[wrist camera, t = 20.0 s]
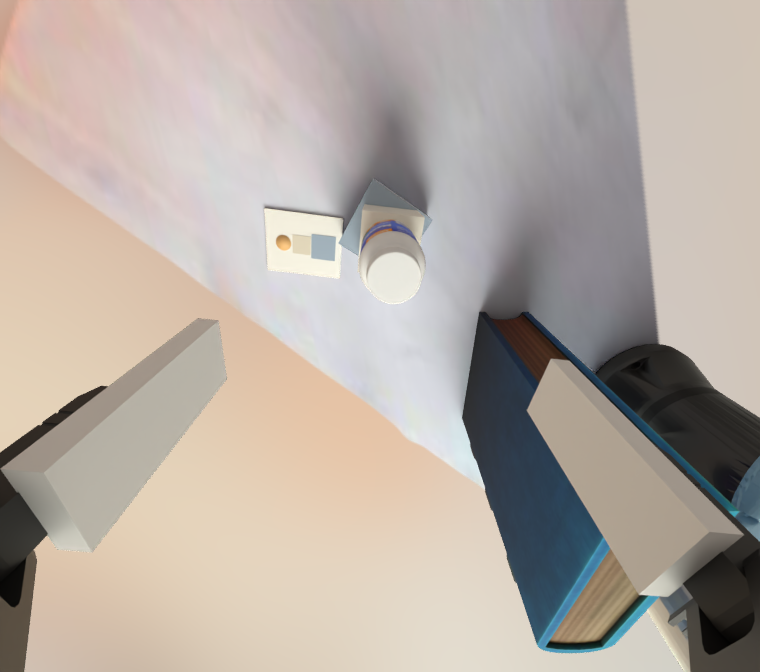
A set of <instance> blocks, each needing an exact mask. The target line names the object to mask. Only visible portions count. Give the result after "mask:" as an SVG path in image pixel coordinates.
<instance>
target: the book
mask: <svg viewBox="0 0 760 672" xmlns="http://www.w3.org/2000/svg"><path fill="white" fill-rule="evenodd" d="M551 359H559V360H568V361H570V362H571V363H572V364H573V365H574V366H575V367H576V368H577V369H578V370H579V371H580V372H581V373H582V374H583V375H584V376H585V377H586V378H587V379H588V380H589V381H590V382H591V383H592V384H593V385H594V386H595V387H596V388H597V389H598V390H599V391H600V392H601V393H602V394H603V395H604V396H605V397H606V398H607V399H608V400H609V401H610V402H611V403H612V404H613V405H614V406H615V407H616V408H617V409H618V410H619V411H620V412H621V413H622V414H623V415H624V416H625V417H626V418H627V419H628V420H629V421H630V422H631V423H632V424H633V425H634V426H635V427H636V428H637V429H638V430H639V431H640V432H641V433H642V434H643V435H644V436H645V437H646V438H647V439H648V440H649V441H651V442H653V443H654V444H656V445H657V446H658V447H660V448H661V449H663V450H664V451H666V452H667V453H668V454H670V455H671V456H672V457H673V458H674V459H675V460H676V461H677V462H678V463H679V464H680V465H681V466H682V467H683V468H684V469H686V470H687V474H691V475H692V476H693V477H694V478H695V479H696V480H697V481H698V482H699V483H700V484H701V487H702V488H705V489H706V490H707V491H708V492H709V493H710V494H711V495H712V496H713V497H714V498H715V499H716V500H717V501H718V502H719V503H720V504H721V505H722V506H724V507H725V508H726V509H727V510H728V511H729V512H730V513H731V514H732V515H733V516H734V517H735V516H736V515H737V514H738V513H739V512H740V511H739V510H738V509H737V508H736V507H735V506H734V505H732V504H731V503H730V502H729V501H728V500H727V499H726V498H725V497H724V496H723V495H722V494H721V493H720V492H719V491H718V490H717V489H715V488H714V487H713V486H712V485H711V484H710V483H709V482H708V481H707V480H706V479H705V478H704V477H703V476H702V475H701V474H700V473H699V472H697V471H696V470H695V469H694V468H693V467H692V466H691V465H690V464H689V463H688V462H687V461H686V460H685V459H684V458H683V457H682V456H681V455H679V454H678V453H677V452H676V451H675V450H674V449H673V448H672V447H671V446H670V445H669V444H668V443H667V442H666V441H665V440H664V439H662V438H661V437H660V436H659V435H658V434H657V433H656V432H655V431H654V430H653V429H652V428H651V427H650V426H649V425H648V424H647V423H646V422H644V421H643V420H642V419H641V418H640V417H639V416H638V415H637V414H636V413H635V412H634V411H633V410H632V409H631V408H630V407H629V406H627V405H626V404H625V403H624V402H623V401H622V400H621V399H620V398H619V397H618V396H617V395H616V394H615V393H614V392H613V391H612V390H611V389H609V388H608V387H607V386H606V385H605V384H604V383H603V382H602V381H601V380H600V379H599V378H598V377H597V376H596V375H595V374H594V373H592V372H591V371H590V370H589V369H588V368H587V367H586V366H585V365H584V364H583V363H582V362H581V361H580V360H579V359H578V358H577V357H576V356H574V355H573V354H572V353H571V352H570V351H569V350H568V349H567V348H566V347H565V346H564V345H563V344H562V343H561V342H560V341H559V340H557V339H556V338H555V337H554V336H553V335H552V334H551V333H550V332H549V331H548V330H547V329H546V328H545V327H544V326H543V325H542V324H541V323H539V322H538V321H537V320H536V319H535V318H534V317H533V316H532V315H531V314H530V313H529V312H522V314H521V316H520V317H518V318H515V319H508V320H497V319H491V318H489V316H488V315H487V314H486V312H479V317H478V323H477V329H476V335H475V342H474V348H473V354H472V360H471V366H470V373H469V379H468V385H467V391H466V398H465V404H464V410H463V416H462V419H463V422H464V425H465V428H466V431H467V434H468V437H469V440H470V445H471V450H472V453H473V456H474V458H475V459H476V461H477V464H478V467H479V470H480V473H481V476H482V479H483V482H484V485H485V492H486V495H487V499H488V502H489V505H490V508H491V510H492V511H493V513H494V516H495V519H496V522H497V525H498V528H499V531H500V534H501V537H502V540H503V543H504V546H505V549H506V552H507V560H508V563H509V566H510V569H511V572H512V575H513V578H514V581H515V582H516V583H517V585H518V588H519V591H520V594H521V597H522V600H523V603H524V606H525V609H526V612H527V616H528V618H529V622H530V624H531V627H532V631H533V634H534V637H535V640H536V643H537V645H538V647H539V648H540V649H542V650H545V651H549V652H556V653H584V652H592V651H598V650H602V649H605V648H608V647H611V646H613V645H615V644H616V642H617V641H618V640H619V639H620V638H621V637H622V636H623V635H624V634H625V633H626V632H627V631H628V630H629V629H630V627H631V626H632V625H633V624H634V623H635V622H636V621H637V620H638V619H639V618H640V617H641V616H642V615H643V614H644V613H645V612H646V611H647V610H648V608H649V607H650V606H651V605H652V604H653V603H654V602H655V601H656V600H657V599H658V598H659V597H660V596H650V595H639V594H638V593H637V591H636V589H635V588H634V586H633V584H632V583H631V581H630V579H629V578H628V576H627V575H626V573H625V571H624V570H623V568H622V566H621V565H620V563H619V561H618V560H617V558H616V556H615V555H614V553H613V552H612V550H611V548H610V547H609V545H608V543H607V542H606V540H605V538H604V537H603V535H602V533H601V532H600V530H599V528H598V527H597V525H596V524H595V522H594V520H593V519H592V517H591V515H590V514H589V512H588V510H587V509H586V507H585V505H584V504H583V502H582V501H581V499H580V497H579V496H578V494H577V492H576V491H575V489H574V487H573V486H572V484H571V482H570V481H569V479H568V478H567V476H566V474H565V473H564V471H563V469H562V468H561V466H560V464H559V463H558V461H557V459H556V458H555V456H554V455H553V453H552V451H551V450H550V448H549V446H548V445H547V443H546V441H545V440H544V438H543V436H542V435H541V433H540V431H539V430H538V428H537V427H536V425H535V423H534V422H533V420H532V418H531V417H530V415H529V413H528V412H527V409H528V407H529V405H530V403H531V401H532V398H533V396H534V394H535V392H536V390H537V388H538V385H539V383H540V381H541V379H542V377H543V375H544V373H545V370H546V368H547V366H548V364H549V362H550V360H551Z"/></svg>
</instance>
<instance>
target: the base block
mask: <svg viewBox="0 0 760 672" xmlns="http://www.w3.org/2000/svg"><path fill="white" fill-rule="evenodd" d="M364 204H368V205H377V206H385V207H393V208H402V209H410V210H418V211H419V212H420V213H421V214H422V215H423V216H424V217H425V220H424V226H423V232H422V235H423V234H424V232H425V231H426V229H427V228H428V226H429V225H430V223H431V222H432V219H431V218H430V217H429V216H428V215H426V214H425V213H423V212H422V211H421V210H419V209H418V208H416V207H415V206H413V205H412V204H410V203H409V202H408V201H406V200H405V199H403V198H402V197H400V196H399V195H398V194H396V193H395V192H393V191H392V190H390V189H389V188H387V187H386V186H385V185H383V184H382V183H380V182H379V181H377V180H376V179H374V178H373V179H372V181H371V183H370V185H369V187H368V189H367V190H366V192H365V194H364V196H363V198H362V200H361V202H360V204H359V205H358V207H357V209H356V211H355V213H354V215H353V217H352V218H351V220H350V222H349V224H348V226H347V228H346V230H345V231H344V233H343V235H342V237H341V239H340V241H339V243H338V244H340V245H342V246H343V247H345V248H347V249H348V250H350V251H352V252H353V253H355V254H356V255H358V256H359V246H360V233H361V219H362V209H363V207H364Z"/></svg>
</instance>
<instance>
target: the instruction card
mask: <svg viewBox="0 0 760 672" xmlns="http://www.w3.org/2000/svg"><path fill="white" fill-rule="evenodd" d="M264 212H265V229H266V247H267V265H268V270H272V271H280V272H289V273H297V274H305V275H313V276H322V277H330V278H338V279H340V267H341V251H342V245H340V244H338V243H339V241H340V239H341V237H342V234H343V218H337V217H329V216H322V215H314V214H306V213H299V212H291V211H284V210H276V209H268V208H264Z"/></svg>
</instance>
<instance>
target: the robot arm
mask: <svg viewBox="0 0 760 672" xmlns="http://www.w3.org/2000/svg"><path fill="white" fill-rule="evenodd" d="M596 376H597V377H598V378H599V379H600V380H601V381H602V382H603V383H604V384H605V385H606V386H607V387H608V388H609V389H611V390H612V391H613V392H614V393H615V394H616V395H617V396H618V397H619V398H620V399H621V400H622V401H623V402H624V403H625V404H626V405H627V406H629V407H630V408H631V409H632V410H633V411H634V412H635V413H636V414H637V415H638V416H639V417H640V418H641V419H642V420H643V421H644V422H646V423H647V424H648V425H649V426H650V427H651V428H652V429H653V430H654V431H655V432H656V433H657V434H658V435H659V436H660V437H661V438H662V439H664V440H665V441H666V442H667V443H668V444H669V445H670V446H671V447H672V448H673V449H674V450H675V451H676V452H677V453H678V454H679V455H681V456H682V457H683V458H684V459H685V460H686V461H687V462H688V463H689V464H690V465H691V466H692V467H693V468H694V469H695V470H696V471H697V472H699V473H700V474H701V475H702V476H703V477H704V478H705V479H706V480H707V481H708V482H709V483H710V484H711V485H712V486H713V487H714V488H715V489H717V490H718V491H719V492H720V493H721V494H722V495H723V496H724V497H725V498H726V499H727V500H728V501H729V502H730V503H731V504H732V505H734V506H735V507H736V508H737V509H738V510H739V511H740V512H739V513H738V514H737V515H736V516H735V517H734V516H733V515H732V514H731V513H730V512H729V511H728V510H727V509H726V508H725V507H724V506H722V505H721V504H720V503H719V502H718V501H717V500H716V499H715V498H714V497H713V496H712V495H711V494H710V493H709V492H708V491H707V490H706V489H705V488H702V487H701V484H700V483H699V482H698V481H697V480H696V479H695V478H694V477H693V476H692V475H691V474H687V470H686V469H684V468H683V467H682V466H681V465H680V464H679V463H678V462H677V461H676V460H675V459H674V458H673V457H672V456H671V455H670V454H668V453H667V452H666V451H664V450H663V449H661V448H660V447H658V446H657V445H656V444H654V443H653V442H651V441H649V440H648V439H647V438H646V437H645V436H644V435H643V434H642V433H641V432H640V431H639V430H638V429H637V428H636V427H635V426H634V425H633V424H632V423H631V422H630V421H629V420H628V419H627V418H626V417H625V416H624V415H623V414H622V413H621V412H620V411H619V410H618V409H617V408H616V407H615V406H614V405H613V404H612V403H611V402H610V401H609V400H608V399H607V398H606V397H605V396H604V395H603V394H602V393H601V392H600V391H599V390H598V389H597V388H596V387H595V386H594V385H593V384H592V383H591V382H590V381H589V380H588V379H587V378H586V377H585V376H584V375H583V374H582V373H581V372H580V371H579V370H578V369H577V368H576V367H575V366H574V365H573V364H572V363H571V362H570V361H568V360H559V359H551V360H550V362H549V364H548V366H547V368H546V370H545V373H544V375H543V377H542V379H541V381H540V383H539V385H538V388H537V390H536V392H535V394H534V396H533V398H532V401H531V403H530V405H529V407H528V409H527V412H528V413H529V415H530V417H531V418H532V420H533V422H534V423H535V425H536V427H537V428H538V430H539V431H540V433H541V435H542V436H543V438H544V440H545V441H546V443H547V445H548V446H549V448H550V450H551V451H552V453H553V455H554V456H555V458H556V459H557V461H558V463H559V464H560V466H561V468H562V469H563V471H564V473H565V474H566V476H567V478H568V479H569V481H570V482H571V484H572V486H573V487H574V489H575V491H576V492H577V494H578V496H579V497H580V499H581V501H582V502H583V504H584V505H585V507H586V509H587V510H588V512H589V514H590V515H591V517H592V519H593V520H594V522H595V524H596V525H597V527H598V528H599V530H600V532H601V533H602V535H603V537H604V538H605V540H606V542H607V543H608V545H609V547H610V548H611V550H612V552H613V553H614V555H615V556H616V558H617V560H618V561H619V563H620V565H621V566H622V568H623V570H624V571H625V573H626V575H627V576H628V578H629V579H630V581H631V583H632V584H633V586H634V588H635V589H636V591H637V593H638V594H639V595H650V596H660V597H659V598H658V599H657V600H656V601H655V602H654V603H653V604H652V605H651V606H650V607H649V608H648V610H647V612H648V614H649V616H650V617H651V619H652V620H653V622H654V624H655V625H656V627H657V629H658V630H659V632H660V633H661V635H662V637H663V638H664V640H665V642H666V643H667V645H668V647H669V648H670V650H671V652H672V653H673V655H674V657H675V658H676V660H677V661H678V663H679V664H680V666H681V668H682V670H683V671H684V672H760V418H759V417H757V416H756V415H754V414H753V413H751V412H750V411H748V410H746V409H745V408H743V407H742V406H740V405H739V404H737V403H736V402H734V401H733V400H731V399H729V398H728V397H726V396H725V395H723V394H722V393H720V392H718V391H717V390H716V389H714V388H713V386H712V385H711V384H710V383H709V381H708V380H707V379H706V377H705V376H704V375H703V374H702V372H701V371H700V370H699V369H698V367H697V366H696V365H695V363H694V362H693V361H692V360H691V359H690V358H689V357H687V356H686V355H684V354H683V353H681V352H679V351H678V350H676V349H674V348H672V347H670V346H666V345H660V344H650V345H643V346H639V347H635V348H632V349H630V350H627V351H625V352H623V353H621V354H619V355H617V356H616V357H614V358H613V359H611V360H610V361H609V362H607V363H606V364H605V365H604V366H603V367H602V368H601V369H600V370H599V371H598V372H597V374H596ZM226 380H227V376H226V370H225V363H224V355H223V348H222V341H221V334H220V328H219V321H218V320H210V319H201V318H198V319H196V320H195V321H194V322H192V323H191V324H190V325H189V326H187V327H186V328H184V329H183V330H182V331H181V332H179V333H178V334H177V335H175V336H174V337H173V338H171V339H170V340H169V341H167V342H166V343H165V344H163V345H162V346H161V347H160V348H158V349H157V350H156V351H154V352H153V353H152V354H150V355H149V356H148V357H146V358H145V359H144V360H142V361H141V362H140V363H138V364H137V365H136V366H135V367H133V368H132V369H131V370H129V371H128V372H127V373H125V374H124V375H123V376H121V377H120V378H119V379H117V380H116V381H115V382H114V383H112V384H111V385H110V386H100V387H98V388H96V389H94V390H91V391H89V392H87V393H85V394H83V395H80V396H78V397H77V398H75V399H74V400H73V401H71V402H70V403H68V404H67V405H66V406H64V407H63V408H61V409H60V410H59V412H58V413H55V414H53V415H52V416H50V417H49V418H48V419H46V420H45V421H43V424H42V425H38V426H36V427H35V428H34V429H33V430H31V431H29V432H28V433H27V434H25V435H24V436H22V437H21V438H20V439H18V440H17V441H16V442H14V443H13V444H11V445H10V446H9V447H7V448H6V449H4V450H3V451H2V452H1V453H0V672H24V668H25V660H26V651H27V642H28V634H29V625H30V616H31V607H32V599H33V590H34V581H35V573H36V564H37V559H36V555H35V552H34V550H33V549H34V548H35V547H36V546H37V545H38V544H39V543H40V542H41V541H42V540H43V539H44V538H45V537H46V536H48V537H49V538H50V540H51V541H52V543H53V544H54V546H55V547H56V548H57V550H68V551H69V550H70V551H81V552H93V551H94V550H95V548H96V547H97V546H98V544H99V543H100V542H101V540H102V539H103V538H104V537H105V535H106V534H107V533H108V532H109V530H110V529H111V528H112V526H113V525H114V524H115V523H116V521H117V520H118V519H119V517H120V516H121V515H122V513H123V512H124V511H125V510H126V508H127V507H128V506H129V505H130V503H131V502H132V500H133V499H134V498H135V497H136V495H137V494H138V493H139V491H140V490H141V489H142V488H143V486H144V485H145V484H146V483H147V481H148V480H149V479H150V477H151V476H152V475H153V474H154V472H155V471H156V470H157V468H158V467H159V466H160V465H161V463H162V462H163V461H164V459H165V458H166V456H167V455H168V454H169V453H170V452H171V450H172V449H173V448H174V447H175V445H176V444H177V443H178V441H179V440H180V439H181V438H182V436H183V435H184V434H185V432H186V431H187V430H188V428H189V427H190V426H191V424H192V423H193V422H194V420H195V419H196V418H197V417H198V416H199V414H200V413H201V412H202V410H203V409H204V408H205V407H206V405H207V404H208V403H209V401H210V400H211V399H212V398H213V396H214V395H215V394H216V392H217V391H218V390H219V388H220V387H221V386H222V385H223V383H224V382H225V381H226Z"/></svg>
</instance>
